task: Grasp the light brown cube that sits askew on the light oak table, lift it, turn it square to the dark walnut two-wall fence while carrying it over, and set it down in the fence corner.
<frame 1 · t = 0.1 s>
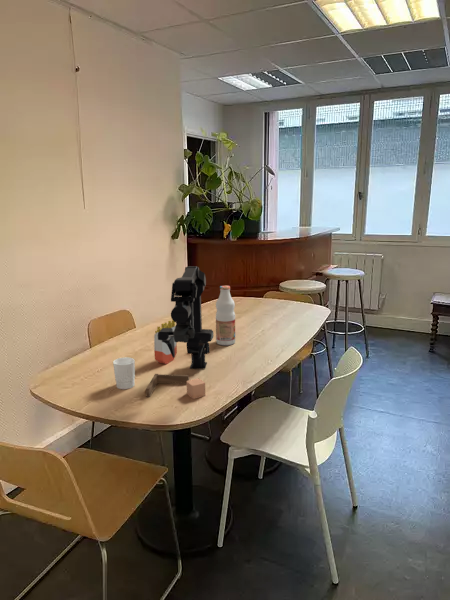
hand: (186, 357, 156), 14 cm above the table, fingers open, 9 cm apart
white cup: (125, 386, 168), on the table
light brown cube: (196, 394, 160), on the table
french fries container: (166, 361, 193), on the table
fruit juice: (225, 343, 216), on the table
walnut fence: (152, 388, 165), on the table
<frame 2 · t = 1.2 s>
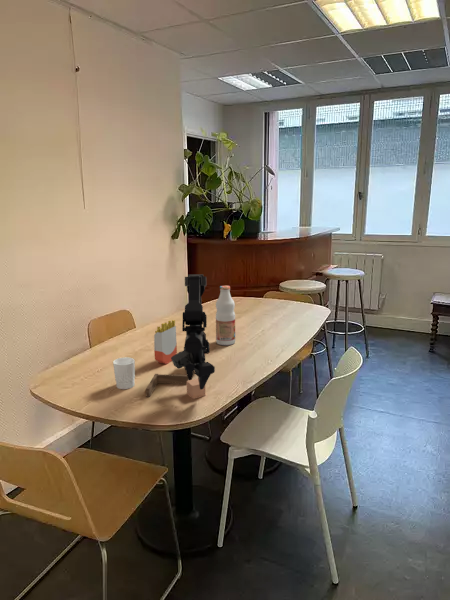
hand: (195, 384, 159), 4 cm above the table, fingers open, 9 cm apart
nothing on the table moved.
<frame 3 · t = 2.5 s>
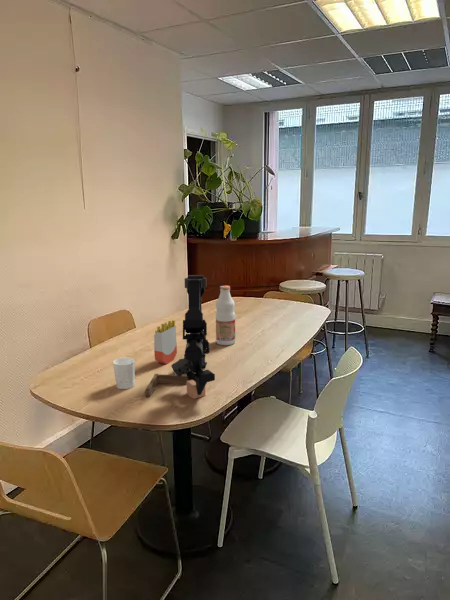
hand: (196, 391, 160), 1 cm above the table, fingers closed on light brown cube, 5 cm apart
light brown cube: (196, 394, 160), on the table, touching gripper
everything else where it was.
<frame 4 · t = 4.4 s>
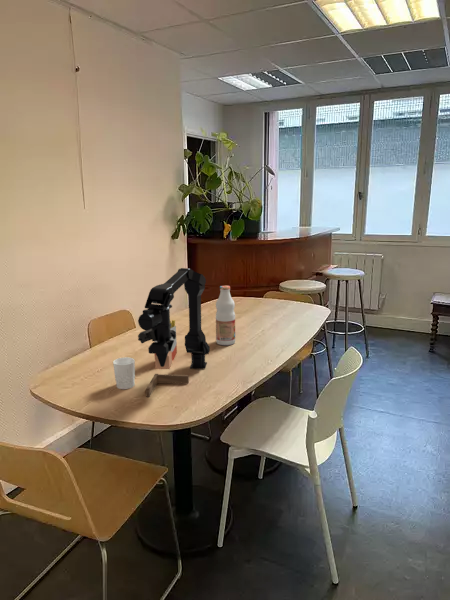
hand: (163, 363, 161), 11 cm above the table, fingers closed on light brown cube, 5 cm apart
light brown cube: (163, 366, 161), point 10 cm above the table, touching gripper
everything else where it was.
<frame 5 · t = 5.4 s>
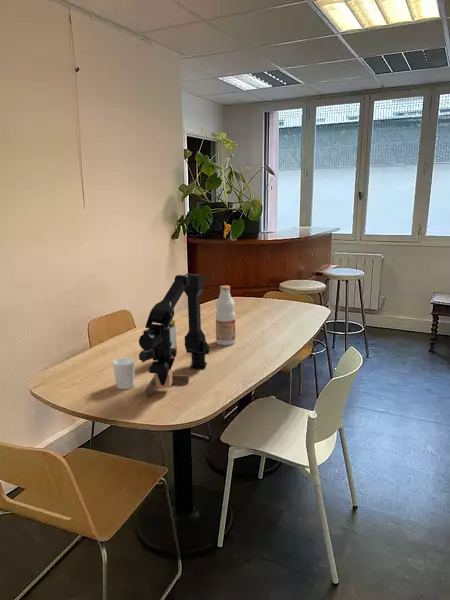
hand: (164, 382, 162), 4 cm above the table, fingers closed on light brown cube, 5 cm apart
light brown cube: (164, 384, 163), point 3 cm above the table, touching gripper
everything else where it was.
when the fingers open (3 cm above the table, at t = 6.3 s): light brown cube drops 2 cm, on the table.
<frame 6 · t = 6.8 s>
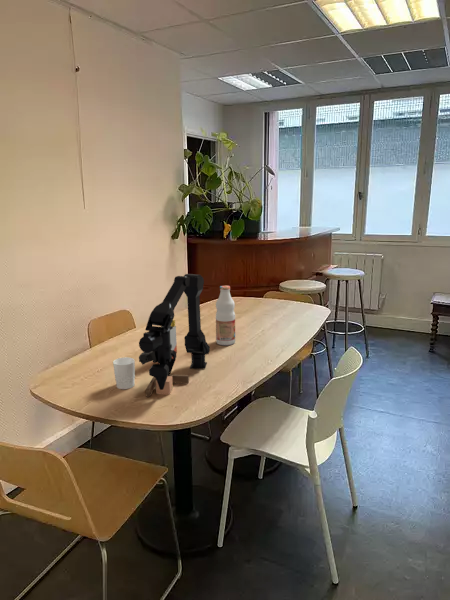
hand: (164, 384, 162), 3 cm above the table, fingers open, 9 cm apart
light brown cube: (164, 391, 163), on the table
everything else where it was.
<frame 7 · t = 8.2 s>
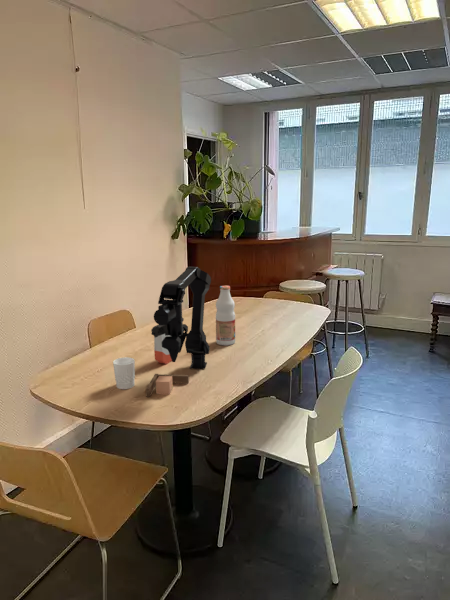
hand: (176, 357, 165), 11 cm above the table, fingers open, 9 cm apart
nothing on the table moved.
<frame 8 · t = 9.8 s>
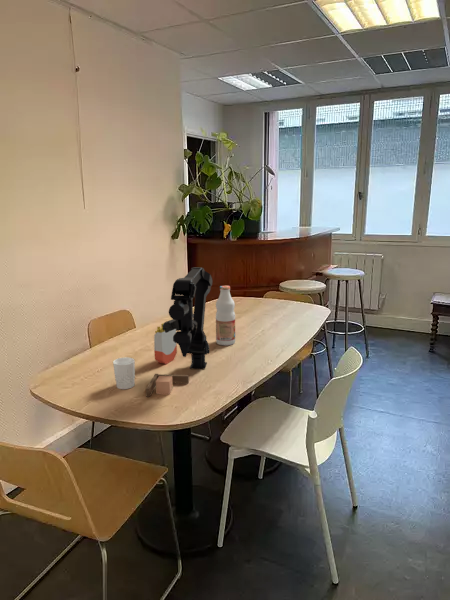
hand: (186, 352, 168), 12 cm above the table, fingers open, 9 cm apart
nothing on the table moved.
at the end: light brown cube inside the target area (0.1 cm from its centre), on the table; light brown cube tilted 0°; the gripper is holding nothing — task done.
